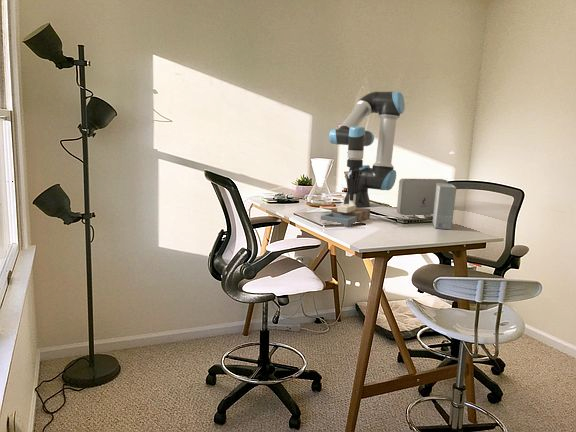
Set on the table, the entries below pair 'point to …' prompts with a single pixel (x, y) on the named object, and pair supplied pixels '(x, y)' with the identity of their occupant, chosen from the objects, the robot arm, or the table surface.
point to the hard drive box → (444, 206)
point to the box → (340, 218)
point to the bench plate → (356, 213)
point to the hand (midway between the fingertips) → (351, 206)
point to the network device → (417, 196)
